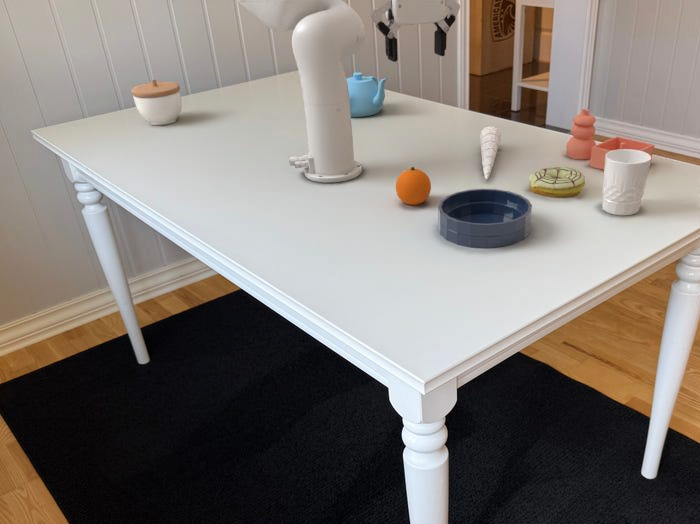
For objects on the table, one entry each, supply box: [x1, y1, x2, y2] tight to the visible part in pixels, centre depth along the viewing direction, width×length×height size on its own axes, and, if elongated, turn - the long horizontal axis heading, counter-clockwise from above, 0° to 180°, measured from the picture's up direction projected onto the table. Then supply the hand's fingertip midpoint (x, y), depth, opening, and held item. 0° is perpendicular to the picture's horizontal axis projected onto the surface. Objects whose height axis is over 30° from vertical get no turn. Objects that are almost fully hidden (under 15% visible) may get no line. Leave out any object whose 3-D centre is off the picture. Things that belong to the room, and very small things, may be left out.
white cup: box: [601, 149, 652, 216], centre depth 125 cm, size 8×8×10 cm
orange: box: [395, 166, 432, 206], centre depth 131 cm, size 7×7×7 cm
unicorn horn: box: [479, 126, 501, 180], centre depth 150 cm, size 5×24×5 cm, turn 168°
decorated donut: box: [528, 166, 586, 199], centre depth 135 cm, size 10×11×4 cm
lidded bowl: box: [130, 78, 183, 126], centre depth 186 cm, size 13×13×11 cm
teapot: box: [346, 71, 389, 118], centre depth 186 cm, size 15×15×10 cm
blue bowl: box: [437, 188, 533, 249], centre depth 121 cm, size 16×16×5 cm
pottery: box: [565, 108, 655, 171], centre depth 147 cm, size 18×10×10 cm, turn 43°
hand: (416, 57), depth 128 cm, fingers open, 9 cm apart
